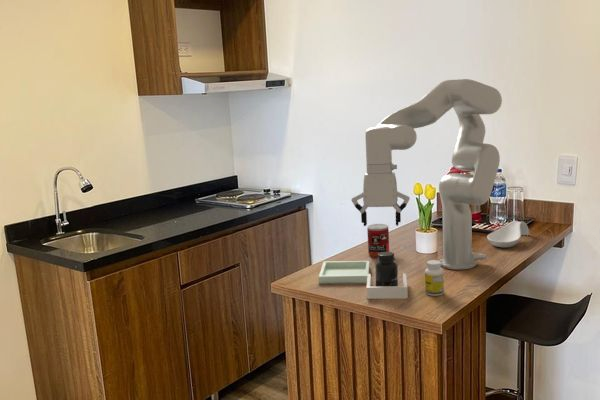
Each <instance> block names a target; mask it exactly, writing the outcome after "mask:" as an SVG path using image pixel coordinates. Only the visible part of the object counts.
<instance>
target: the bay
mask: <svg viewBox="0 0 600 400" xmlns="http://www.w3.org/2000/svg"><path fill="white" fill-rule="evenodd" d="M365 287H366V299H367V300H373V299H374V300H375V299H376V300H377V299H379V300H381V299H382V300H383V299H385V300H387V299H388V300H389V299H392V300H393V299H395V300H396V299H397V300H398V299H400V300H401V299H406V300H407V299H408V298H409V296H408V280H407V273H404V272H403V273H402V285H398V286H376V285H374V286H372V274H371V273H369V274H368V277H367V283H366V286H365Z"/></svg>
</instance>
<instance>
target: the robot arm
mask: <svg viewBox="0 0 600 400" xmlns="http://www.w3.org/2000/svg"><path fill="white" fill-rule="evenodd" d="M502 98H503V97H502V94H501V93H500V91H499V90H498V89H497V88H495V87H493V86H490V85H487V84H486V83H485V84H484V83H482V82H480V81H477V80H473V79H469V78H462V79H461V78H459V79H458V78H457V79H447V80H443V81H442V82H440V83H438V84H436V86H435V87H433V88H432V89H431V90H430V91H429V92H427V93H426V94H425V95H424V96H423V97H421V98H420V99H419V100H418V101H416V102H414V103H411V104H409V105H407V106H405V107H403V108H401V109H398V110H397V111H395V112H394V111H393V113H390V115H388V116H386V117H385V118H384V119H382V120H381V122H379V123H378V124H377V125H376V126H375V127H369V128H367V129H366V130H365V157H366V158H365V160H366V162H365V164H366V173H364V176H363V190H362V192H361V193H359V194H357V195H355V196H353V197H352V198H351V202H352V204H353V205H354V207H355V208H356V209H357V211H359V213H360V214H361V215H360V217H361V221H360V222H361V224H362V223H363V227H366V226H368V225H367V224H368V219H367V218H368V217H367V215H368V214H367V211H366V210H367V209H368V208H391V207H392V208H393V209H394V210H395V226H399V223H401V222H402V221H401V220H402V219H401V218H402V217H401V212H402V211H403V210H404V209H405V208H406V207H407V205H408V203H409V201H410V197H409V196H408V195H407V194H404V193H402V192H400V191H398V186H397V184H398V183H397V182H398V181H397V177H396V173H395V172H393V171H394V170H397V169H398V164H394V163H393V159H392V158H393V157H392V156H393V154H392V152H393V151H397V150H399V151H406V150H409V149H411V148H412V147H413V146H414V145H415V144H416V141H417V139H418V138H417V132H416V130H415V129H421V128H424V127H428V126H430V125H434V124H435V123H436V122H437V121H438V120H440V119H441V118H442V117H443V116H444V115H445V114H446V113H447V112H449V111H450V110H452V108H453V110H454V112H455V114H456V116H457V118H458V122H459V123H458V124H459V130H458V135H457V138H456V142H455V146H454V149H453V153H452V155H451V164H452V166H453V167H454V168H455V169H456V170H459V171H463V172H464V171H465V172H472V173H473V174H466V173H457V172H452V173H451V172H450V173H447V174H445V175H444V176H442V178H441V179H440V181H439V184H438V192H439V198H440V201H441V208H442V210H441V211H442V257H441V258H440V259H439V260H438V261H440V262H441V267H442V268H443V269H449V270H469V269H470V270H471V269H473V268H475V267H476V266H477V263H478V262H477V260H480V261H481V260H483V261H486V260H487V254H486V253H482V252H474V251H473V248H472V247H473V245H472V244H473V243H472V241H473V240H472V239H473V238H472V236H473V235H472V234H473V233H472V230H473V229H472V228H473V227H472V223H473V222H472V220H473V219H472V211H471V207H470V205H473V206H481V205H484V204H486V203H487V202H488V200H490V197H491V194H492V191H493V187H494V185H495V183H496V182H495V180H496V177H497V174H498V170H499V166H500V162H501V161H500V159H501V157H500V156H501V155H500V152H499V150H498V148H497V147H496V146H495V145H493V144H491V143H484V140H485V136H486V127H485V123H484V121H483V118H482V117H481V115H493V114H495V113H497V112H498V111H499V110H500V108H501V106H502V103H503V99H502ZM398 198H400V199H402V200H403V202H402V203H401V204H400V205H399V204H398ZM360 199H362V201H363V206H362V205H361V204H360V203H359V202H358V201H359V200H360ZM441 267H440V268H441Z"/></svg>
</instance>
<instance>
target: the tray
mask: <svg viewBox="0 0 600 400" xmlns="http://www.w3.org/2000/svg"><path fill="white" fill-rule="evenodd" d="M370 266H371V265H370V260H338V261H337V260H336V261H333V260H331V261H325V260H323V262H322V265H321V268H320V272H319V274H318V284H319V285H321V284H322V285H326V284H327V285H331V284H334V285H336V284H338V285H339V284H343V285H344V284H345V285H346V284H367V277H368V274H370V268H371V267H370Z"/></svg>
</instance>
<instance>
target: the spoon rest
mask: <svg viewBox="0 0 600 400" xmlns="http://www.w3.org/2000/svg"><path fill="white" fill-rule="evenodd" d="M525 235H527V236H526V237H528V235H529V236H530V229H529V227H528V224H527V223H526V222H525V221H518V220H512V221H510V222H509V223H507V224H505V225H504V226H502V227H500V228H497V229H496V230H494V231H492V232H490V233H488V235H487V236H486V238H487V241H488V242H490V244H491V245H493V246H494V247H498V248H502V249H503V248H505V249H506V248H512V247H514V246H515V245H517V244H518V243H519V242H520V239H521V237H522V236H525Z"/></svg>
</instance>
